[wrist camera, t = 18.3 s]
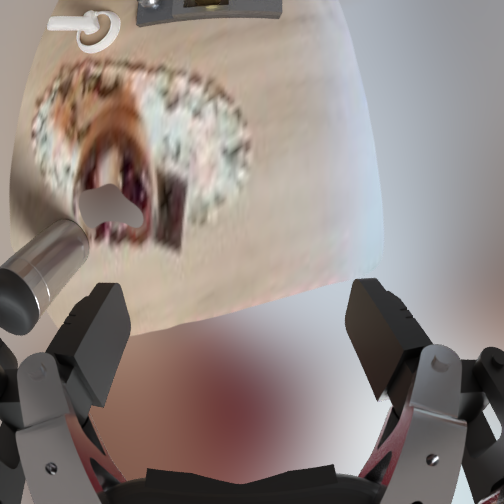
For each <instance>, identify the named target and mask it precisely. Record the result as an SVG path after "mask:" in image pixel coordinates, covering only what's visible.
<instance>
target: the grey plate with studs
mask: <svg viewBox="0 0 504 504" xmlns="http://www.w3.org/2000/svg"><path fill="white" fill-rule="evenodd" d="M137 1H138V2H139V3H138V12H137V24H136V25H137V26H139V27H144V26H149V25H155V24H162V23H169V22H176V21H185V20H196V19H210V18H270V19H279V18H280V16H281V14H282V0H229V5H212V6H198V7H187V2H188V0H137Z"/></svg>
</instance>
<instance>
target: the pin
mask: <svg viewBox="0 0 504 504" xmlns="http://www.w3.org/2000/svg"><path fill="white" fill-rule="evenodd" d="M221 1H222V0H195V3H196V4H197V5H198V6H212V5H218V4H220V3H221Z"/></svg>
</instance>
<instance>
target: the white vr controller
mask: <svg viewBox="0 0 504 504" xmlns="http://www.w3.org/2000/svg"><path fill="white" fill-rule="evenodd" d="M99 14H105V15H107V16H108V17H109V18H110V21H111V26H110V29H109V32H108V33H107V35H106V36H105V37H104V38H103V39H102V40H101V41H100V42H98V43H96V44H94V45H90V46H87V45H83V44H82V43H81V41H80V34H81V31H85V34H87V35H88V34H92V33H95V32H96V31H98V30H99V28H100V27H99V22H98V18H97V16H98V15H99ZM120 24H121V23H120V19H119V17H118V15H117V14H116V13H114V12H111V11H100V12H97V11H95V12H94V11H93V10H90V11H87V12H86V13H85V14H84V15H83V16H52V17H50V19H49V21H48V24H47V29H48V30H78V31H77V43H78V46H79V47H80V49H81V50H82V51H84V52H86V53H96V52H99V51H101V50H103V49H105V48H106V47H108V46H109V45H110V44H111V43H112V42H113V41H114V40H115V38H116V37H117V35H118V33H119V30H120Z"/></svg>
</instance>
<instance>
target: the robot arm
mask: <svg viewBox="0 0 504 504" xmlns="http://www.w3.org/2000/svg"><path fill="white" fill-rule="evenodd" d="M88 254H89V244H88V240H87V237H86V235H85V233H84V232H83V231H82V229H81V228H80V227H79V226H78V225H77V224H75V223H74V222H72V221H70V220H65V219H63V220H58V221H56V222H55V223H53V224H52V225H51V226H49V227H48V228H47V229H45V230H44V231H42V232H41V233H40V234H39V235H37V236H36V237H35V238H33V239H32V240H31V241H30V242H28V243H27V244H26V245H25V246H24V247H22V248H21V249H20V250H19V251H17V252H16V253H15V254H14V255H13V256H12V257H10V258H9V259H8V260H7V261H6V262H5V263H4V264H3V265H1V266H0V327H1V328H3V329H4V330H6V331H8V332H9V333H12V334H14V335H25V334H27V333H29V332H30V331H31V330H32V329H33V327H34V326H35V324H36V323H37V322H38V320H39V319H40V318H41V316H42V315H43V313H44V312H45V311H46V309H47V308H48V307H49V305H50V304H51V303H52V301H53V300H54V299H55V298H56V296H57V295H58V294H59V292H60V291H61V290H62V289H63V287H64V286H65V285H66V284H67V283H68V281H69V280H70V279H71V278H72V276H73V275H74V274H75V273H76V272H77V271H78V269H79V268H80V267H81V266H82V265H83V264H84V262H85V261H86V259H87V258H88ZM345 327H346V330H347V333H348V336H349V338H350V340H351V342H352V344H353V347H354V349H355V351H356V353H357V355H358V358H359V360H360V362H361V365H362V367H363V369H364V371H365V374H366V376H367V378H368V381H369V383H370V385H371V388H372V390H373V392H374V395H375V397H376V400H377V402H380V401H384V400H388V399H390V400H391V403H392V405H391V407H390V409H389V411H388V414H387V417H386V419H385V422H384V425H383V427H382V430H381V433H380V435H379V438H378V440H377V442H376V445H375V447H374V450H373V452H372V454H371V456H370V458H369V459H368V461H367V462H366V464H365V465H364V467H363V469H362V470H361V472H360V474H359V476H358V477H357V476H353V475H345V474H336V472H335V468H334V465H333V464H332V465H327V466H321V467H316V468H308V469H302V470H293V471H287V472H285V473H282V474H278V475H275V476H272V477H268V478H265V479H261V480H258V481H254V482H250V483H247V484H234V483H229V482H224V481H219V480H216V479H212V478H208V477H204V476H200V475H197V474H193V473H184V472H173V471H164V470H156V469H149V468H147V474H146V478H140V479H134V480H130V481H126V479H125V478H124V476H123V475H122V473H121V472H120V471H119V469H118V468H117V467H116V465H115V464H114V462H113V461H112V459H111V457H110V455H109V454H108V451H107V450H106V447H105V445H104V443H103V441H102V439H101V437H100V435H99V433H98V430H97V428H96V426H95V424H94V421H93V419H92V417H91V415H90V414H89V410H90V408H91V405H93V406H98V407H103V408H104V406H105V402H106V399H107V396H108V393H109V390H110V387H111V385H112V382H113V379H114V376H115V373H116V370H117V368H118V365H119V362H120V359H121V356H122V354H123V351H124V349H125V346H126V343H127V341H128V338H129V336H130V331H131V322H130V317H129V314H128V310H127V307H126V303H125V300H124V296H123V292H122V288H121V286H120V284H118V283H98V284H97V285H96V286H95V287H94V289H93V290H92V292H91V293H90V295H89V296H86V297H84V298H83V299H82V300H81V301H79V302H78V303H77V304H76V305H75V306H74V307H73V309H72V310H71V312H70V313H69V316H67V318H66V319H65V321H64V324H62V326H61V327H60V329H59V330H58V332H57V334H56V335H55V337H54V338H53V340H52V342H51V343H50V345H49V347H48V348H47V350H46V352H45V353H44V352H40V353H35V354H32V355H30V356H29V357H27V358H26V359H25V360H24V361H23V362H22V363H21V364H20V366H19V368H18V363H17V359H16V357H15V356H14V354H13V353H12V351H11V350H10V349H9V348H8V347H7V346H6V344H5V343H4V342H3V341H2V340H1V338H0V420H1V421H2V424H1V426H0V504H21V499H22V494H23V489H24V484H25V480H26V481H27V484H28V487H29V490H30V494H31V496H32V499H33V502H34V504H451V502H452V499H453V496H454V492H455V488H456V484H457V481H458V476H459V472H460V467H461V464H462V467H463V469H464V472H465V475H466V478H467V481H468V484H469V487H470V490H471V493H472V497H473V500H474V503H475V504H504V351H502V350H500V349H498V348H495V347H487V348H485V349H484V350H483V351H482V352H481V354H480V356H479V358H478V359H477V360H460V358H459V356H458V355H457V354H456V353H455V352H454V351H453V350H452V349H450V348H448V347H446V346H444V345H439V344H433V343H432V342H431V340H430V339H429V337H428V336H427V335H426V333H425V332H424V330H423V329H422V328H421V326H420V325H419V323H418V322H417V321H416V319H415V318H413V315H412V314H411V313H410V311H409V310H407V307H406V306H405V305H404V303H403V302H402V301H401V299H399V298H398V297H397V296H395V295H394V294H393V293H391V292H390V291H386V290H385V289H384V287H383V286H382V285H381V283H380V282H379V281H378V280H377V279H376V278H366V279H355V280H354V282H353V284H352V288H351V293H350V298H349V302H348V306H347V310H346V315H345ZM17 368H18V369H17ZM489 403H490V404H491V406H492V408H493V410H494V412H495V414H496V416H497V418H498V419H499V421H500V423H501V426H502V433H501V436H500V438H499V439H498V440H497V441H496V439H495V437H494V434H493V433H492V430H491V428H490V426H489V424H488V422H487V420H486V418H485V416H484V414H483V412H482V411H483V410H484V409H485V408H486V406H487V405H488V404H489Z"/></svg>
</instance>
